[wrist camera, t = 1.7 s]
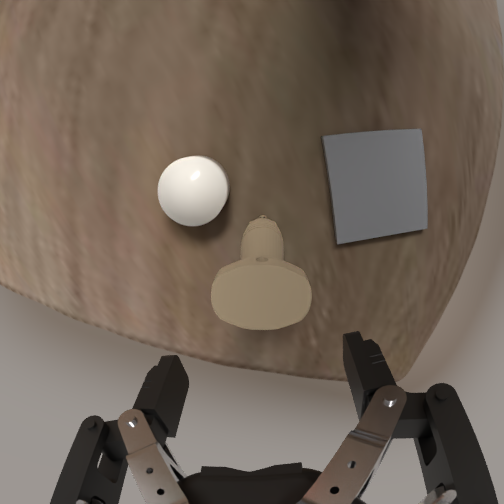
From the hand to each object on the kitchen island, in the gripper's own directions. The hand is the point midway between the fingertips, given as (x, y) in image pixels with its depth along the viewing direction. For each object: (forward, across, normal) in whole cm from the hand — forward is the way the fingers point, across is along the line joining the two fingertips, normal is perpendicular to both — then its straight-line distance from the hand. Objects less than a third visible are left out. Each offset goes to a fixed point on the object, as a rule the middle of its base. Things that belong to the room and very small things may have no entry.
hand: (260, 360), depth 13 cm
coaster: (+20, -14, -3) cm, 25 cm away
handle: (+21, 0, 0) cm, 21 cm away
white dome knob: (+21, +6, -6) cm, 22 cm away
